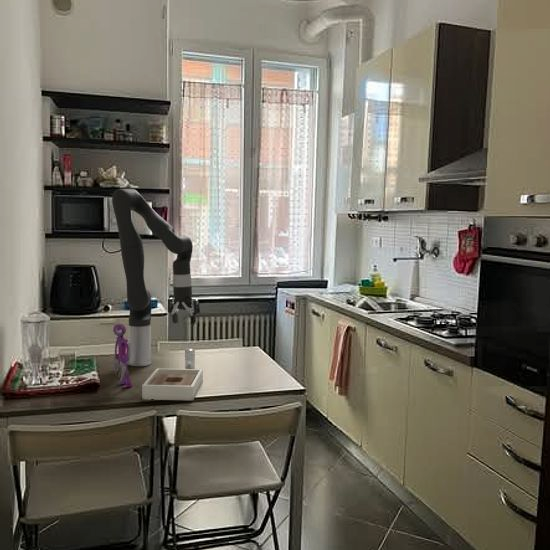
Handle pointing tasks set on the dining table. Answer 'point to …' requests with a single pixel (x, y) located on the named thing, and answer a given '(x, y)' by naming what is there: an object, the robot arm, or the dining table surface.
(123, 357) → the toy
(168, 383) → the bore plate
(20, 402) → the dining table surface
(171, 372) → the box
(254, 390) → the dining table surface
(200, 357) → the dining table surface
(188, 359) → the peg
